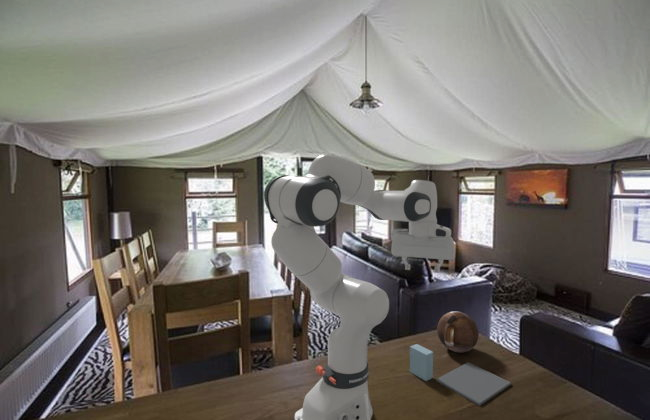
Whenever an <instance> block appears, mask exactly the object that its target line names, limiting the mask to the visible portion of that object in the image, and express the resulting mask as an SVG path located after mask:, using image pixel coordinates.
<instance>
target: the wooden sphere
mask: <svg viewBox="0 0 650 420" xmlns="http://www.w3.org/2000/svg"><path fill="white" fill-rule="evenodd" d="M436 331H437V332H436V333H437V335H438V340H439V341H440V342H441V343H442V346H444V347H445V348H446V349H448V350H450V351H451V352H455V353H466V352H469V351H471V350H472V349H474V348H475V347H476V345H477V343H478V340H479V336H480V335H479V334H480V333H479V328H478V326H477V323H476V322H475V320H473V318H472V317H470V316H469V315H468V314H466V313H463V312H461V311H450V312H447V313H445V314H443V315H442V317H440V319H439V320H438V324H437V327H436Z"/></svg>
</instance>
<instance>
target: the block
mask: <svg viewBox="0 0 650 420" xmlns="http://www.w3.org/2000/svg"><path fill="white" fill-rule="evenodd" d="M409 373H411V374H413V375H414V376H416V377H417V378H419V379H422V380H423V381H425V382H428V381H430V380H431V379H433V378H434V351H432V350H430V349H428V348H426V347H424V346H422V345H420V344H418V343H416V344H413V345H410V346H409Z"/></svg>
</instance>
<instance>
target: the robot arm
mask: <svg viewBox="0 0 650 420" xmlns="http://www.w3.org/2000/svg"><path fill="white" fill-rule="evenodd" d="M307 172H308V173H307V174H306V175H304V176H303V175H290V174H289V175H288V174H287V175H286V174H284V175H279V176H276V177H275V178H273V179H271V180H270V181H269V182H268V183H267V184H266V186H265V188H264V191H263V192H264V193H263V198H264V203H265V206H266V208H267V210H268V213H269V217H270V220H271V221H272V222H273V223H275V224H277V227H276V229H275V230H274V232H273V234H272V236H271V241H270V242H271V247H272V250H273V251H274V252H275V254H276V256H277V257H278V258H279V260H280V261H281V262H282V263H283V265H284V266H285V267H286V268H287V269H288V270H289V271H290V273H292V274H293V275H294V276H295V277H296V278H297V279H298V280H299V281H300V282H301V283H302V284H304V286H305V287H306V288H308V290H309V294H310V298H311V300H312V301H313V302H314V303H315V304H317V305H318V307H320V308H322V309H323V310H325V311H327V312H330V313H332V314H334V315H337V316H339V318H340V325H339V327H336V328H334V330H332V331H331V333H330V334H329V336H328V337H327V362H326V363H325V367H324V368H323V367H322V365H318V366H316V368H315V372H316V373H317V374H318V375H319V376H321V378H320V379H319V380H318V382H317V383H316V384H315V385H314V386H313V387H312V388H311V389H310V390H309V391H308V392H307V394H306V395H305V396H304V400H303V404H302V407H301V408H300V409H298V410H297V411H296V412H295V413H294V420H372V418H373V414H374V413H373V412H374V411H373V407H372V403H371V399H370V395H369V394H370V393H369V386H368V383H369V382H368V379H369V374H370V373H369V363H368V343H369V337H370V333H371V331H372V330H373V328H375V327H376V326H378V325H379V324H382V322H383V321H384V320H385V318H386V317H387V315H388V313H389V310H390V299H389V297H388V294H387V292H386V291H385V290H384V289H382V288H380V287H378V286H377V285H376V284H373V283H371V282H368V281H366V280H362V279H358V278H354V277H351V276H349V275H347V274H345V273H343V272H342V271H343V269H342V268H343V264H342V261H341V259H340V257H338V255H337V254H336V253H335V251H333V250H332V249H331V248H330V247H329V245H328V244H327V243H326V242H325V241H324V240H323V239H322V238H321V237H320V236H319V235H318V233H317V231H316V229H315V227H323V226H327V225H329V224H330V223H331V222H332V221H333V220H334V219H335V217H336V216H337V214H338V212H339V209H340V205H341V203H343V204H345V205H351V206H358V207H360V208H363V209H365V210H367V211H368V212H369V214H371V216H373V217H374V218H375V219H376V220H378V221H395V222H396V221H397V222H407V223H408V228H400V227H399V228H395V229H393V230H392V231H391V232H390V239H391V241H392V242H391V247H390V248H391V251H390V252H391V254H392V256H393V257H394V256H395V257H401V261H402V262H403V264H404V266H405V267H404V270H407V271H411V263H409V262H408V261H407V259H408V258H418V259H419V258H420V259H432V260H433V259H435V260H438V261H437V262H438V263H439V264H438V265H434V273H437V274H440V273H441V270H440V269H441V267H442V265H443V263H444V260H446V261H447V260H448V261H453V260H455V258H456V247H455V245H456V244H455V240H454V239H453V237H452V229H451V228H449V227H447V226H443V225H442V224H441V225H440V224H438V219H437V214H436V213H437V209H438V193H437V192H438V191H437V186H436V184H435V182H433V181H431V180H427V179H414V180H411V183H410V185H409V186H408V187H407V188H405V189H404V190H387V189H386V190H385V189H378V190H375V189H376V188H375V186H376V182H375V177H374V174H373V172H371V171H370V170H369V169H368V168H367V167H365V166H364V165H362V164H360V163H358V162H356V161H353V160H351V159H348V158H345V157H342V156H339V155H335V154H329V153H324V154H321V155H318V156H316V157H315V158H314V159H313V160H312V162H311V164H310V166H309V168H308V171H307Z"/></svg>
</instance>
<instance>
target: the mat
mask: <svg viewBox="0 0 650 420" xmlns="http://www.w3.org/2000/svg"><path fill="white" fill-rule="evenodd" d="M435 380H436V382H437V383H439V384H440V385H442V386H444V387H446V388H447V389H449V390H451V391H453V392H455V393H456V394H457V395H460V396H461V397H463V398H465V399H467V400H469V401H470V402H472V403H474V404H475V405H476V406H479V407H480V406H482V405H483V404H485V403H486V402H488V401H489V400H490V399H492V398H493V397H495V396H496V395H498V394H500V392H502V391H504V390H505V389H508V387H509V386H511V384H512V382H511V381H508V380H506V379H504V378H502V377H500V376H498V375H496V374H494V373H492V372H490V371H488V370H485V369H484V368H481V367H479V366H478V365H475V364H473V363H470V362H469V361H467V362H466V363H463V364H461V366H459V367H456V368H454V369H452V370H450V371H448V372H447V373H444V374H443V375H441V376H439V377H437V378H436V379H435Z"/></svg>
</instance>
